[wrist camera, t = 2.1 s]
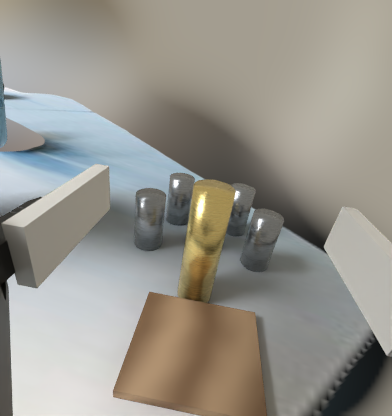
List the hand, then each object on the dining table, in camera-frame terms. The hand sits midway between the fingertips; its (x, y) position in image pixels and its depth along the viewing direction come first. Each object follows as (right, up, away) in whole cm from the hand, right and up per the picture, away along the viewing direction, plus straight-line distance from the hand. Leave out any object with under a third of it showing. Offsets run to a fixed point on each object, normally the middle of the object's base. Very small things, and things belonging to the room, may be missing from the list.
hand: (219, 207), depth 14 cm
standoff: (-2, -10, +16) cm, 19 cm away
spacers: (0, -5, +26) cm, 27 cm away
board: (-1, -14, +10) cm, 17 cm away
